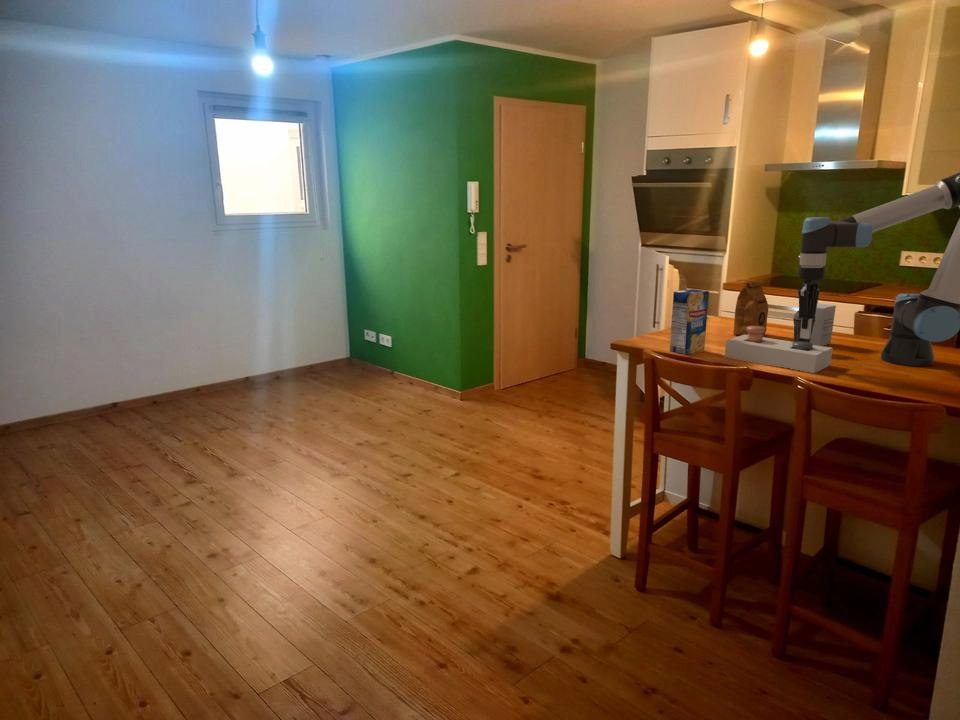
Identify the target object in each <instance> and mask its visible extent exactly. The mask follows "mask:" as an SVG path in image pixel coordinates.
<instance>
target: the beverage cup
mask: <svg viewBox="0 0 960 720" xmlns="http://www.w3.org/2000/svg"><path fill="white" fill-rule="evenodd" d="M813 316H814V315H813ZM811 319H812V324H811V334H812V330H813V326H814V324H815V321H816V320H815V319H814V318H811ZM792 320H793V342H797V341H801V342H809V343H810V339H811V334H810V339H804V338H800V331H801V320H802V319H800V318H799V309H798V310H797V311H796V312H795V313H794V315H793V318H792Z"/></svg>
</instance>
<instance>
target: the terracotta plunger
mask: <svg viewBox="0 0 960 720" xmlns="http://www.w3.org/2000/svg"><path fill="white" fill-rule="evenodd" d="M746 331H747V332H748V339H747V341H748V342H755V343H762V339H763V337H764V335H763V333H765V334H766V332H765V327H761V326H747V330H746Z"/></svg>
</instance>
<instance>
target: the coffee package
mask: <svg viewBox="0 0 960 720" xmlns="http://www.w3.org/2000/svg"><path fill="white" fill-rule="evenodd" d="M764 284H765V281H764V280H763V279H762V280H761V279H760V280H754V281H747V282H745V284H744V285H743V287H742V288H741V290H740V292H739V293H738V295H737V298H736V304H735V310H734V322H733V324H734V325H733V335H734V336H741V335H744V334H745V335H748V332H747V331H746V330H747V326H761V327H765V333H763V334H764V335H765V334H766V333H767V325H768V316H769V315H768V313H769V304H768V303H769V302H768V300H767V297H766V295H765V294H764V290H763V285H764Z"/></svg>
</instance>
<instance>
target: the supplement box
mask: <svg viewBox="0 0 960 720" xmlns="http://www.w3.org/2000/svg"><path fill="white" fill-rule="evenodd" d="M836 309H837V306H836V305H834V304H826V303H819V302H818V303H817V308H816V313H815V320H816V321H815V324H814V326H813V330H812V334H811V339H810V343H812V344H813V345H817V346H823V347H825V346H828V345H827V344H829V345H831V344H832V336H833V328H834V321H835V315H836ZM830 343H831V344H830ZM824 345H825V346H824Z"/></svg>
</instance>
